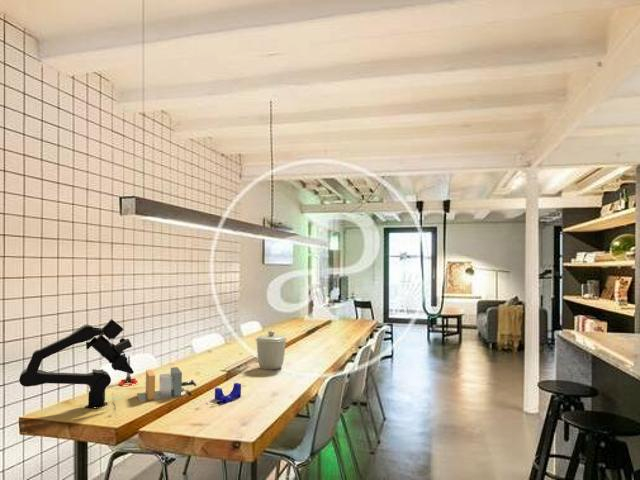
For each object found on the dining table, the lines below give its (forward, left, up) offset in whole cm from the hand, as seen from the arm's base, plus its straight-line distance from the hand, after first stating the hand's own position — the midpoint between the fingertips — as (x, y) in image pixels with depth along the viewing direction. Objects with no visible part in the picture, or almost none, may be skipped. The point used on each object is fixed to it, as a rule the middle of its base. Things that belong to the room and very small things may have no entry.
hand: (132, 371), depth 191 cm
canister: (+70, -44, -13) cm, 84 cm away
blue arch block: (+8, -40, -13) cm, 43 cm away
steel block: (+7, -12, -11) cm, 18 cm away
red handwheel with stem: (+26, +17, -13) cm, 34 cm away
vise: (+7, -12, -13) cm, 19 cm away
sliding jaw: (+4, -6, -11) cm, 13 cm away
